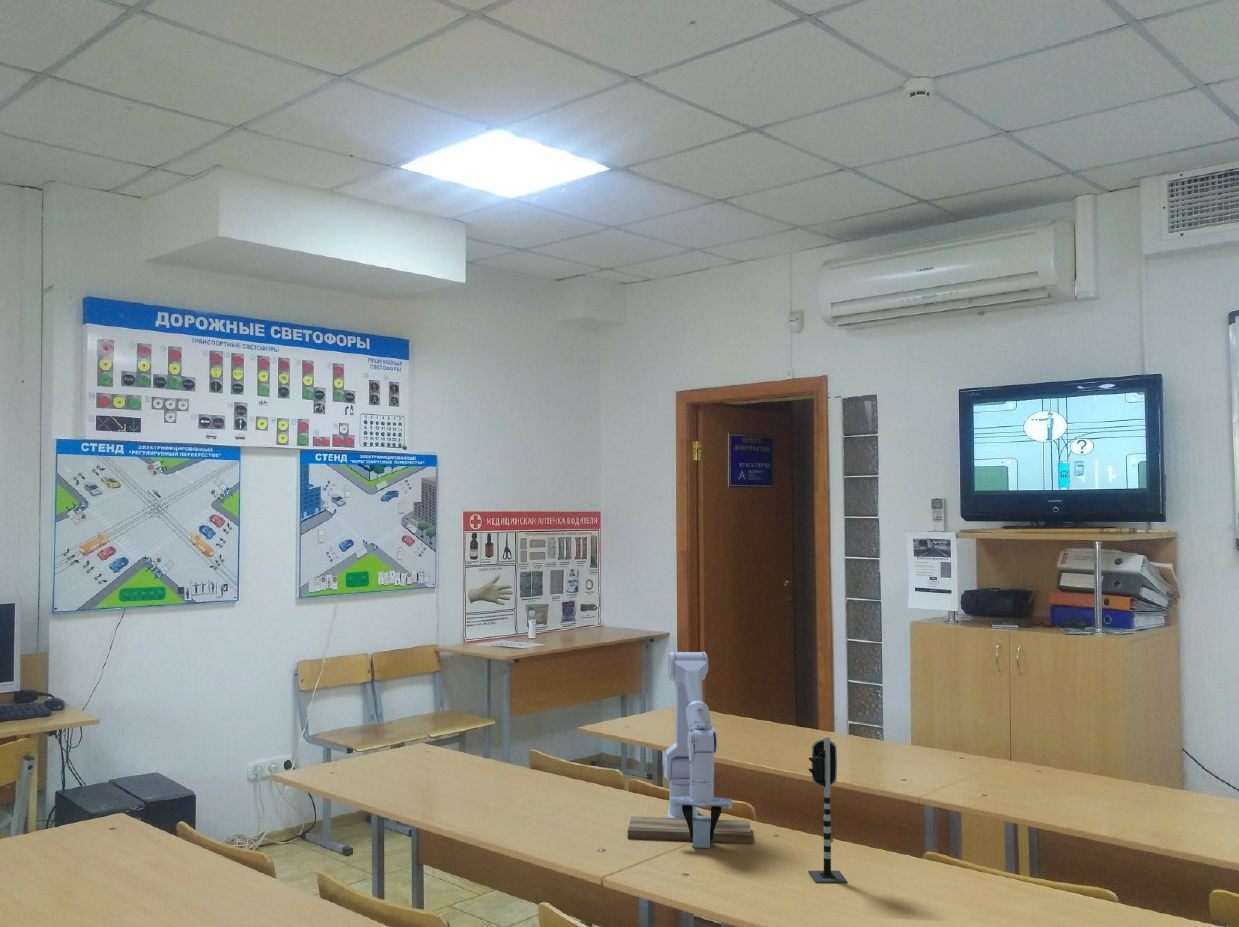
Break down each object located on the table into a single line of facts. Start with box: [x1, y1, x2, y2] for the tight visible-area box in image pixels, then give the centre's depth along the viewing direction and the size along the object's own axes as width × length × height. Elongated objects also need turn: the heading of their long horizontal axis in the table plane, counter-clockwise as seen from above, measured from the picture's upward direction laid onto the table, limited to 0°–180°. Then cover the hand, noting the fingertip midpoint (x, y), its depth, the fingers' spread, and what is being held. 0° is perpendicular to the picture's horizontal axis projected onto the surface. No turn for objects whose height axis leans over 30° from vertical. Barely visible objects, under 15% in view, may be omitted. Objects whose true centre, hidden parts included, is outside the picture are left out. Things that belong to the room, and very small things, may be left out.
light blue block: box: [692, 815, 711, 849], centre depth 241 cm, size 8×4×6 cm, turn 175°
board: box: [627, 816, 753, 844], centre depth 249 cm, size 12×30×2 cm, turn 85°
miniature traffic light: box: [807, 736, 848, 884], centre depth 219 cm, size 8×8×30 cm
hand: (701, 838), depth 240 cm, fingers closed on light blue block, 4 cm apart
